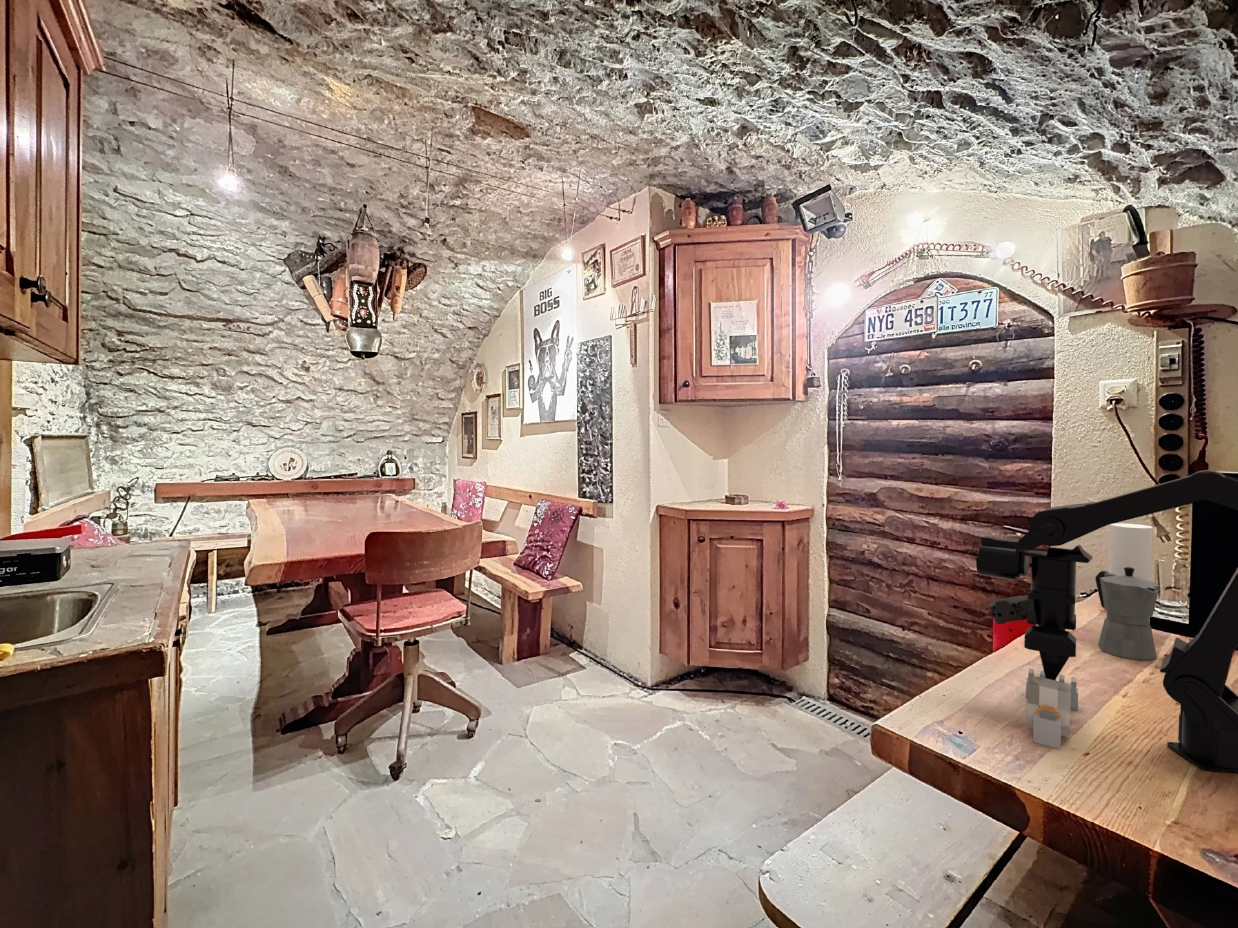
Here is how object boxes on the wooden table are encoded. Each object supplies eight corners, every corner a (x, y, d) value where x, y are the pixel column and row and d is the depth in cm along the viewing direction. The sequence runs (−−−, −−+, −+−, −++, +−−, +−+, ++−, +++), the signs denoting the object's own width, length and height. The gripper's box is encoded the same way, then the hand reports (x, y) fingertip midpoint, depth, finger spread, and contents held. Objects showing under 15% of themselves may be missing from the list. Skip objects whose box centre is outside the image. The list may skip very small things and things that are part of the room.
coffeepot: (1178, 665, 112) (1182, 575, 111) (1127, 664, 113) (1130, 574, 112) (1118, 638, 128) (1120, 558, 127) (1073, 637, 128) (1075, 558, 128)
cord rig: (1027, 693, 100) (1027, 666, 100) (1077, 704, 96) (1078, 676, 96) (1017, 737, 86) (1018, 705, 86) (1077, 753, 81) (1077, 720, 81)
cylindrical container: (1100, 632, 132) (1103, 524, 130) (1117, 627, 135) (1120, 522, 134) (1138, 641, 125) (1142, 529, 124) (1155, 636, 128) (1159, 526, 127)
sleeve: (1028, 716, 90) (1029, 674, 90) (1069, 726, 87) (1071, 683, 87) (1026, 726, 87) (1027, 683, 87) (1069, 737, 84) (1070, 692, 84)
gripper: (999, 568, 104) (997, 652, 105) (986, 589, 90) (984, 686, 90) (1077, 577, 97) (1074, 666, 98) (1077, 602, 83) (1074, 707, 83)
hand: (1050, 680), depth 93 cm, fingers closed
